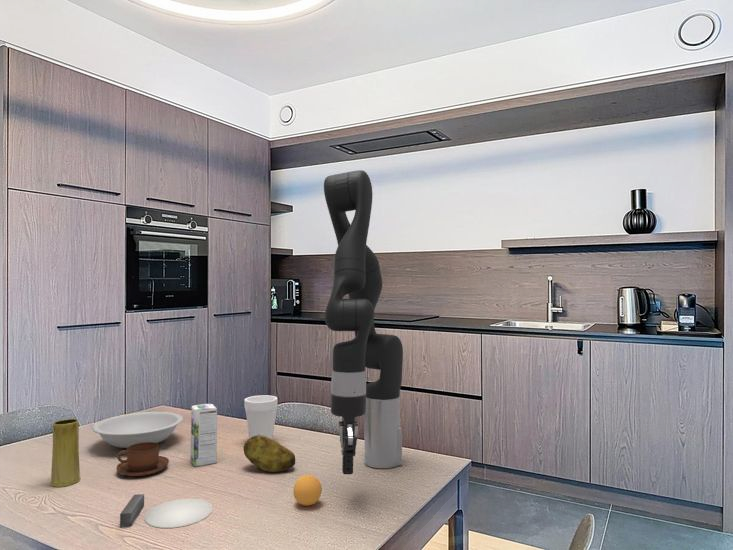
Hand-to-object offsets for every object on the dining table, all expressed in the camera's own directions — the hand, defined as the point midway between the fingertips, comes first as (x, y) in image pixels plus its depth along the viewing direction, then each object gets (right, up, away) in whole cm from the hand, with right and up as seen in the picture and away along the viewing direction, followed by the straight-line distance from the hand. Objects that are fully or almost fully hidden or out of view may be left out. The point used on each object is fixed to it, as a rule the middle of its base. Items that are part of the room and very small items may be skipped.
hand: (347, 473), depth 110 cm
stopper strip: (-43, -6, -7) cm, 44 cm away
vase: (-67, -7, +11) cm, 68 cm away
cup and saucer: (-52, -7, +18) cm, 55 cm away
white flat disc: (-34, -6, -5) cm, 35 cm away
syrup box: (-39, -7, +24) cm, 46 cm away
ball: (-8, -3, -1) cm, 9 cm away
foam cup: (-27, -7, +39) cm, 48 cm away
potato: (-20, -7, +19) cm, 29 cm away
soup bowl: (-62, -7, +39) cm, 74 cm away
